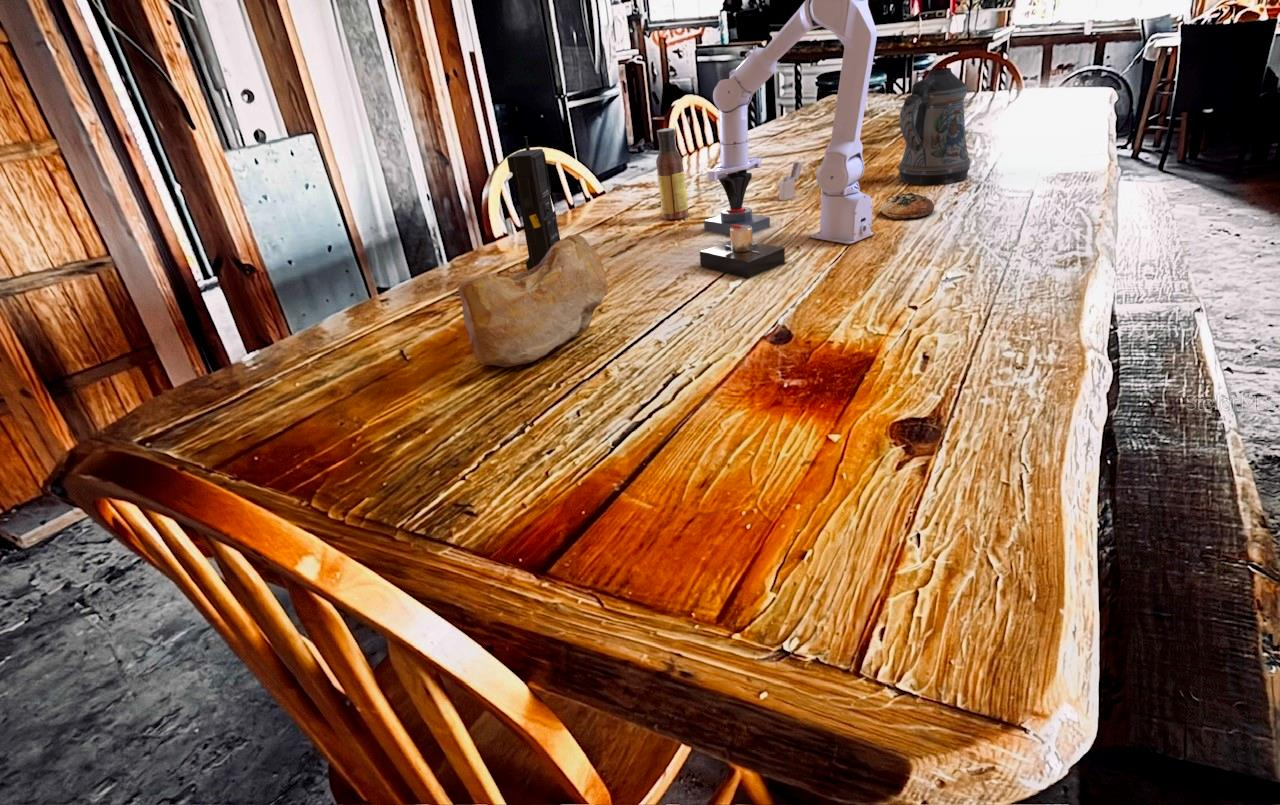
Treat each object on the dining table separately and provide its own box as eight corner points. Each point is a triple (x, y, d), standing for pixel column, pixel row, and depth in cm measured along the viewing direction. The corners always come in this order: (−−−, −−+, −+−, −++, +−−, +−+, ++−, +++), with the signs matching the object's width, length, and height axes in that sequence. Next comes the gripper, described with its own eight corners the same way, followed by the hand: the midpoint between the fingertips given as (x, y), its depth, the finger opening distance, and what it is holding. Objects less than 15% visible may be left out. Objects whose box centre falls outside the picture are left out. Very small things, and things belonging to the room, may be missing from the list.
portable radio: (555, 278, 135) (533, 141, 124) (526, 278, 137) (501, 143, 125) (566, 265, 142) (547, 134, 130) (538, 266, 143) (516, 136, 132)
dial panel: (784, 263, 130) (784, 246, 128) (748, 278, 124) (747, 261, 123) (736, 253, 138) (736, 237, 137) (700, 266, 133) (699, 250, 131)
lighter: (784, 200, 171) (784, 166, 168) (778, 199, 173) (778, 166, 169) (802, 194, 175) (802, 161, 172) (796, 193, 176) (797, 160, 173)
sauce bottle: (688, 213, 170) (683, 125, 160) (687, 219, 164) (682, 129, 155) (661, 215, 171) (654, 128, 161) (660, 221, 165) (652, 132, 156)
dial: (757, 248, 129) (756, 224, 127) (742, 253, 127) (741, 230, 125) (740, 244, 132) (740, 221, 130) (726, 250, 130) (725, 227, 128)
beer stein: (974, 171, 179) (987, 62, 167) (959, 189, 165) (972, 71, 153) (906, 170, 187) (914, 67, 175) (887, 187, 173) (894, 76, 161)
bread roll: (946, 212, 148) (945, 188, 145) (903, 229, 145) (901, 205, 143) (910, 204, 157) (908, 182, 155) (868, 220, 155) (866, 198, 153)
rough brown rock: (568, 311, 121) (548, 224, 114) (627, 326, 108) (608, 230, 102) (446, 361, 109) (416, 268, 103) (496, 384, 97) (466, 280, 90)
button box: (770, 227, 152) (769, 208, 150) (741, 237, 147) (741, 218, 145) (732, 220, 160) (731, 202, 158) (704, 230, 155) (703, 212, 153)
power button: (748, 215, 152) (748, 207, 151) (736, 219, 150) (736, 211, 149) (736, 213, 154) (735, 205, 154) (724, 217, 152) (724, 209, 152)
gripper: (743, 135, 152) (745, 199, 158) (695, 147, 144) (698, 214, 150) (768, 136, 147) (769, 202, 153) (720, 149, 139) (722, 218, 145)
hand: (736, 208), depth 151 cm, fingers closed, pressing on power button
